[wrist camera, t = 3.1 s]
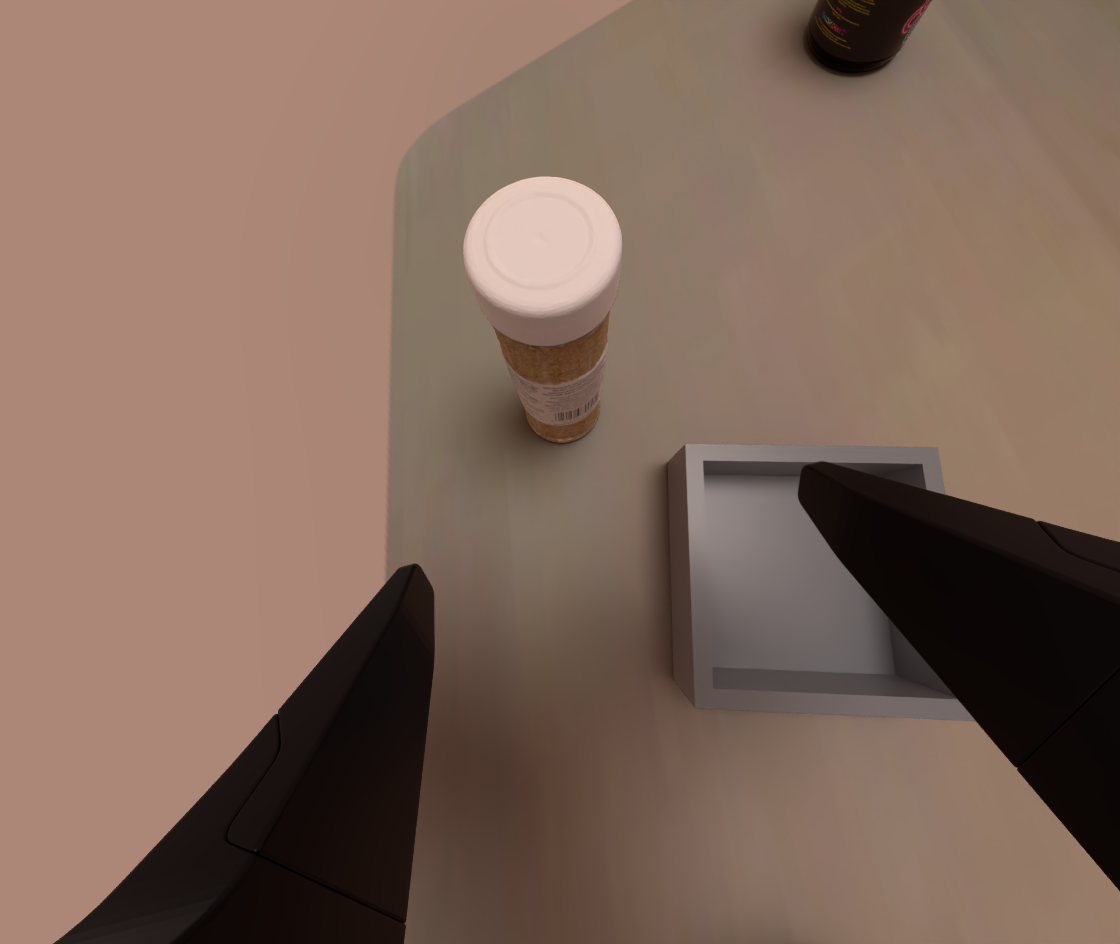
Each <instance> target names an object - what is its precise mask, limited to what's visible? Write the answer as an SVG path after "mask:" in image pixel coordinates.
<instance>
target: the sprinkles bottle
mask: <svg viewBox="0 0 1120 944" xmlns="http://www.w3.org/2000/svg"><path fill="white" fill-rule="evenodd" d="M621 256H622V236H621V231H620V227H619V224H618V221H617V219H616V217H615V215H614V213H613V211H612V210H611V208H610V207H609V205H608V204H607V203H606V202H605V201H604V199H603V198H602V197H601V196H599V195H598V194H597V193H596V192H594V191H593V190H592V189H590V188H588V187H586V186H584V185H582V184H580V183H577V182H575V181H572V180H569V179H564V178H559V177H535V178H529V179H524V180H520V181H517V182H515V183H512V184H510V185H508V186H505V187H504V188H502V189H500V190H498V191H497V192H495V193H494V194H493V195H492V196H490V197H489V198H488V199H487V200H486V201H485V202H484V203H483V204H482V205H481V206H480V208H479V209H478V210H477V211H476V213H475V214H474V216H473V218H472V220H471V221H470V223H469V226H468V228H467V231H466V235H465V239H464V245H463V257H464V264H465V268H466V273H467V276H468V278H469V281H470V284H471V287H472V289H473V292H474V294H475V297H476V299H477V302H478V304H479V306H480V309H481V311H482V313H483V314H484V316H485V317H486V318H487V320H488V321H489V322H490V323H491V325H492V326H493V327H494V329H495V332H496V335H497V338H498V340H499V342H500V347H501V350H502V354H503V356H504V359H505V361H506V364H507V366H508V369H509V371H510V374H511V376H512V379H513V382H514V384H515V387H516V390H517V392H518V395H519V397H520V400H521V402H522V404H523V406H524V408H525V412H526V416H527V420H528V423H529V424H530V426H531V428H532V429H533V430H534V431H535V432H536V433H537V434H538V435H539V436H541V437H542V438H544V439H546V440H549V441H552V442H557V443H567V442H572V441H575V440H577V439H580V438H582V437H583V436H585V435H586V434H587V433H588V432H590V430H591V429H592V428H593V427H594V425H595V423H596V421H597V420H598V417H599V413H600V397H601V392H602V385H603V378H604V371H605V363H606V356H607V332H608V324H609V313H610V309H611V307H612V305H613V303H614V300H615V298H616V295H617V291H618V284H619V278H620V268H621Z"/></svg>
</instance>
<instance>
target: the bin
mask: <svg viewBox="0 0 1120 944" xmlns="http://www.w3.org/2000/svg"><path fill="white" fill-rule="evenodd" d="M818 461H825V462H829V463H832V464H836V465H840V466H843V467H847V468H851V469H854V470H858V471H861V472H865V473H869V474H872V475H876V476H879V477H883V478H887V479H890V480H894V481H897V482H901V483H905V484H908V485H912V486H916V487H919V488H923V489H926V490H930V491H934V492H937V493H941V494H945V488H944V482H943V476H942V470H941V464H940V458H939V452H938V447H874V446H796V445H718V444H685V445H684V446H683V447H682V448H681V449H680V450H679V451H678V452H677V453H676V454H675V455H674V456H673V457H672V458H671V459H670V460H669V461H668V462H667V465H668V502H669V539H670V575H671V612H672V648H673V679H674V681H675V682H676V683H677V685H678V686H679V687H680V689H681V690H682V691H683V693H684V694H685V695H686V697H687V698H688V699H689V701H690V702H691V703H692V705H693V706H694V707H695V708H699V709H721V710H742V711H763V712H785V713H806V714H827V715H849V716H870V717H892V718H913V719H934V720H956V721H975V720H974V718H973V717H972V716H971V715H970V714H969V712H968V711H967V710H966V709H965V708H964V707H963V705H962V704H961V703H960V702H959V701H958V700H957V698H956V697H955V696H954V695H953V694H952V692H951V691H950V690H949V689H948V688H947V687H946V685H945V684H944V683H943V682H942V681H941V680H940V678H939V677H938V676H937V675H936V674H935V672H934V671H933V670H932V669H931V668H930V667H929V665H928V664H927V663H926V662H925V661H924V659H923V658H922V657H921V656H920V655H919V654H918V652H917V651H916V650H915V649H914V648H913V647H912V645H911V644H910V643H909V642H908V641H907V639H906V638H905V637H904V636H903V635H902V634H901V632H900V631H899V630H898V629H897V628H896V627H895V625H894V624H893V623H892V622H891V621H890V619H889V618H888V617H887V616H886V615H885V614H884V612H883V611H882V610H881V609H880V608H879V606H878V605H877V604H876V603H875V602H874V601H873V599H872V598H871V597H870V596H869V595H868V594H867V592H866V591H865V590H864V589H863V588H862V586H861V585H860V584H859V583H858V582H857V581H856V579H855V578H854V577H853V576H852V575H851V573H850V572H849V571H848V570H847V569H846V568H845V566H844V565H843V564H842V563H841V561H840V560H839V559H838V558H837V556H836V555H835V554H834V552H833V551H832V550H831V548H830V547H829V545H828V544H827V542H826V541H825V539H824V538H823V536H822V535H821V534H820V532H819V531H818V529H817V528H816V526H815V525H814V523H813V522H812V520H811V519H810V517H809V516H808V514H807V513H806V512H805V510H804V509H803V507H802V506H801V504H800V502H799V500H798V487H799V480H800V474H801V469H802V468H803V466H805V465H807V464H810V463H814V462H818ZM945 495H946V494H945Z"/></svg>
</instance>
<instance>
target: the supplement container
mask: <svg viewBox="0 0 1120 944" xmlns="http://www.w3.org/2000/svg"><path fill="white" fill-rule="evenodd" d="M931 1H932V0H818V1H817V3H816V5H815V7H814V10H813V12H812V15H811V17H810V19H809V23H808V31H807V36H808V42H809V46H810V49H811V51H812V53H813V54H814V56H815V57H816V58H817V59H818V60H819V61H821V62H822V63H823V64H825V65H826V66H828V67H830V68H833V69H835V70H839V71H843V72H851V73H857V72H865V71H869V70H872V69H875V68H877V67H879V66H881V65H883V64H885V63H886V62H887V61H889V60H890V59H891V58H892V57H894V56H895V55H896V54H897V53H898V52H899V51H900V50H901V48H902V47H903V45H904V44H905V42H906V40H907V39H908V37H909V36H910V34H911V33H912V31H913V30H914V28H915V26H916V25H917V23H918V22H919V20H920V19H921V17H922V15H923V14H924V12H925V11H926V9H927V8H928V6H929V4H930V3H931Z"/></svg>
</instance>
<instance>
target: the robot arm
mask: <svg viewBox="0 0 1120 944" xmlns="http://www.w3.org/2000/svg"><path fill="white" fill-rule="evenodd" d="M798 500H799V502H800V504H801V506H802V507H803V509H804V510H805V512H806V513H807V514H808V516H809V517H810V519H811V520H812V522H813V523H814V525H815V526H816V528H817V529H818V531H819V532H820V534H821V535H822V536H823V538H824V539H825V541H826V542H827V544H828V545H829V547H830V548H831V550H832V551H833V552H834V554H835V555H836V556H837V558H838V559H839V560H840V561H841V563H842V564H843V565H844V566H845V568H846V569H847V570H848V571H849V572H850V573H851V575H852V576H853V577H854V578H855V579H856V581H857V582H858V583H859V584H860V585H861V586H862V588H863V589H864V590H865V591H866V592H867V594H868V595H869V596H870V597H871V598H872V599H873V601H874V602H875V603H876V604H877V605H878V606H879V608H880V609H881V610H882V611H883V612H884V614H885V615H886V616H887V617H888V618H889V619H890V621H891V622H892V623H893V624H894V625H895V627H896V628H897V629H898V630H899V631H900V632H901V634H902V635H903V636H904V637H905V638H906V639H907V641H908V642H909V643H910V644H911V645H912V647H913V648H914V649H915V650H916V651H917V652H918V654H919V655H920V656H921V657H922V658H923V659H924V661H925V662H926V663H927V664H928V665H929V667H930V668H931V669H932V670H933V671H934V672H935V674H936V675H937V676H938V677H939V678H940V680H941V681H942V682H943V683H944V684H945V685H946V687H947V688H948V689H949V690H950V691H951V692H952V694H953V695H954V696H955V697H956V698H957V700H958V701H959V702H960V703H961V704H962V705H963V707H964V708H965V709H966V710H967V711H968V712H969V714H970V715H971V716H972V717H973V718H974V720H975V721H976V722H977V723H978V724H979V725H980V727H981V728H982V729H983V730H984V731H985V733H986V734H987V735H988V736H989V737H990V738H991V740H992V741H993V742H994V743H995V744H996V745H997V747H998V748H999V749H1000V750H1001V751H1002V753H1003V754H1004V755H1005V756H1006V757H1007V758H1008V760H1009V761H1010V762H1011V763H1012V764H1013V765H1014V766H1015V767H1017V770H1018V772H1019V773H1020V774H1021V775H1022V777H1023V778H1024V779H1025V780H1026V781H1027V782H1028V784H1029V785H1030V786H1031V787H1032V788H1033V790H1034V791H1035V792H1036V793H1037V794H1038V795H1039V797H1040V798H1041V799H1042V800H1043V801H1044V802H1045V804H1046V805H1047V806H1048V807H1049V808H1050V810H1051V811H1052V812H1053V813H1054V814H1055V815H1056V817H1057V818H1058V819H1059V820H1060V821H1061V822H1062V824H1063V825H1064V826H1065V827H1066V828H1067V830H1068V831H1069V832H1070V833H1071V834H1072V835H1073V837H1074V838H1075V839H1076V840H1077V841H1078V842H1079V844H1080V845H1081V846H1082V847H1083V848H1084V850H1085V851H1086V852H1087V853H1088V854H1089V855H1090V857H1091V858H1092V859H1093V860H1094V861H1095V862H1096V864H1097V865H1098V866H1099V867H1100V868H1101V870H1102V871H1103V872H1104V873H1105V874H1106V875H1107V877H1108V878H1109V879H1110V880H1111V881H1112V883H1113V884H1114V885H1115V886H1116V887H1117V888H1118V890H1119V891H1120V542H1117V541H1113V540H1109V539H1105V538H1102V537H1098V536H1094V535H1090V534H1086V533H1083V532H1079V531H1075V530H1071V529H1068V528H1064V527H1060V526H1057V525H1053V524H1050V523H1046V522H1043V521H1037V522H1036V521H1035V520H1034V519H1031V518H1028V517H1024V516H1021V515H1017V514H1013V513H1010V512H1006V511H1002V510H999V509H995V508H992V507H988V506H984V505H981V504H977V503H973V502H970V501H966V500H963V499H959V498H955V497H952V496H948V495H945V494H941V493H937V492H934V491H930V490H926V489H923V488H919V487H916V486H912V485H908V484H905V483H901V482H897V481H894V480H890V479H887V478H883V477H879V476H876V475H872V474H869V473H865V472H861V471H858V470H854V469H851V468H847V467H843V466H840V465H836V464H832V463H829V462H825V461H818V462H814V463H810V464H807V465H805V466H803V468H802V469H801V474H800V480H799V487H798ZM434 651H435V638H434V591H433V588H432V586H431V584H430V582H429V580H428V579H427V577H426V575H425V573H424V572H423V570H422V568H421V567H420V566H419V565H418V564H411V565H407V566H403V567H400V568H399V569H398V570H397V571H396V572H395V573H394V574H393V575H392V576H391V578H390V579H389V580H388V581H387V582H386V584H385V585H384V586H383V587H382V589H380V591H379V592H378V593H377V594H376V595H375V597H374V598H373V599H372V600H371V601H370V602H369V604H368V605H367V606H366V607H365V609H364V610H363V611H362V612H361V613H360V614H359V615H358V617H357V618H356V619H355V620H354V622H353V623H352V624H351V625H350V626H349V628H348V629H347V630H346V631H345V632H344V633H343V635H342V636H341V637H340V638H339V639H338V640H337V642H336V643H335V644H334V645H333V646H332V647H331V649H330V650H329V651H328V652H327V653H326V655H325V656H324V657H323V658H322V659H321V660H320V662H319V663H318V664H317V665H316V666H315V667H314V669H313V670H312V671H311V672H310V673H309V675H308V676H307V677H306V678H305V679H304V680H303V682H302V683H301V684H300V685H299V687H298V688H297V689H296V690H295V691H294V692H293V693H292V695H291V696H290V697H289V698H288V699H287V701H286V702H285V703H284V704H283V705H282V707H281V708H280V709H279V710H278V714H275V715H274V716H273V717H272V718H271V719H270V720H269V722H268V723H267V724H266V725H265V726H264V728H263V729H262V730H261V731H260V732H259V733H258V735H257V736H256V737H255V738H254V739H253V740H252V742H251V743H250V744H249V745H248V746H247V748H245V750H244V751H243V752H242V753H241V754H240V755H239V756H238V758H237V759H236V760H235V761H234V762H233V763H232V765H231V766H230V767H229V768H228V769H227V770H226V771H225V772H224V773H223V774H222V775H221V777H220V778H219V779H218V780H217V781H216V782H215V783H214V784H213V785H212V786H211V788H209V789H208V791H207V792H206V793H205V794H204V795H203V796H202V797H201V798H200V799H199V801H197V802H196V804H195V805H194V806H193V807H192V808H191V809H190V810H189V811H188V812H187V813H186V814H185V815H184V816H183V818H181V819H180V820H179V822H178V823H177V824H176V825H175V826H174V827H173V828H172V829H171V830H170V831H169V832H168V833H167V834H166V835H165V836H164V838H163V839H162V840H161V841H160V842H159V843H158V844H157V845H156V846H155V847H154V848H153V849H152V850H151V851H150V852H149V853H148V854H147V856H146V857H145V858H144V859H143V860H142V861H141V862H140V863H139V864H138V865H137V866H136V867H135V868H134V869H133V871H132V872H130V874H129V875H128V876H127V877H126V878H125V879H124V880H123V881H122V882H121V883H120V884H119V885H118V886H117V887H116V888H115V889H114V890H113V891H112V892H111V893H110V895H108V896H107V898H106V899H104V901H103V902H102V903H101V904H100V905H98V906H97V907H96V908H95V909H94V910H93V911H92V912H91V913H90V914H89V915H88V916H86V917H85V918H84V919H83V920H82V921H81V922H80V923H79V924H77V925H76V926H75V927H74V928H72V930H70V931H69V932H68V933H66V934H65V935H64V936H63V937H61V938H60V939H59V940H57V941H56V942H55V943H53V944H404V938H405V929H406V925H405V924H404V923H405V922H406V917H407V908H408V899H409V890H410V880H411V871H412V862H413V853H414V844H415V835H416V825H417V816H418V807H419V798H420V789H421V780H422V770H423V761H424V752H425V743H426V734H427V725H428V715H429V706H430V697H431V688H432V679H433V669H434Z"/></svg>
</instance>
